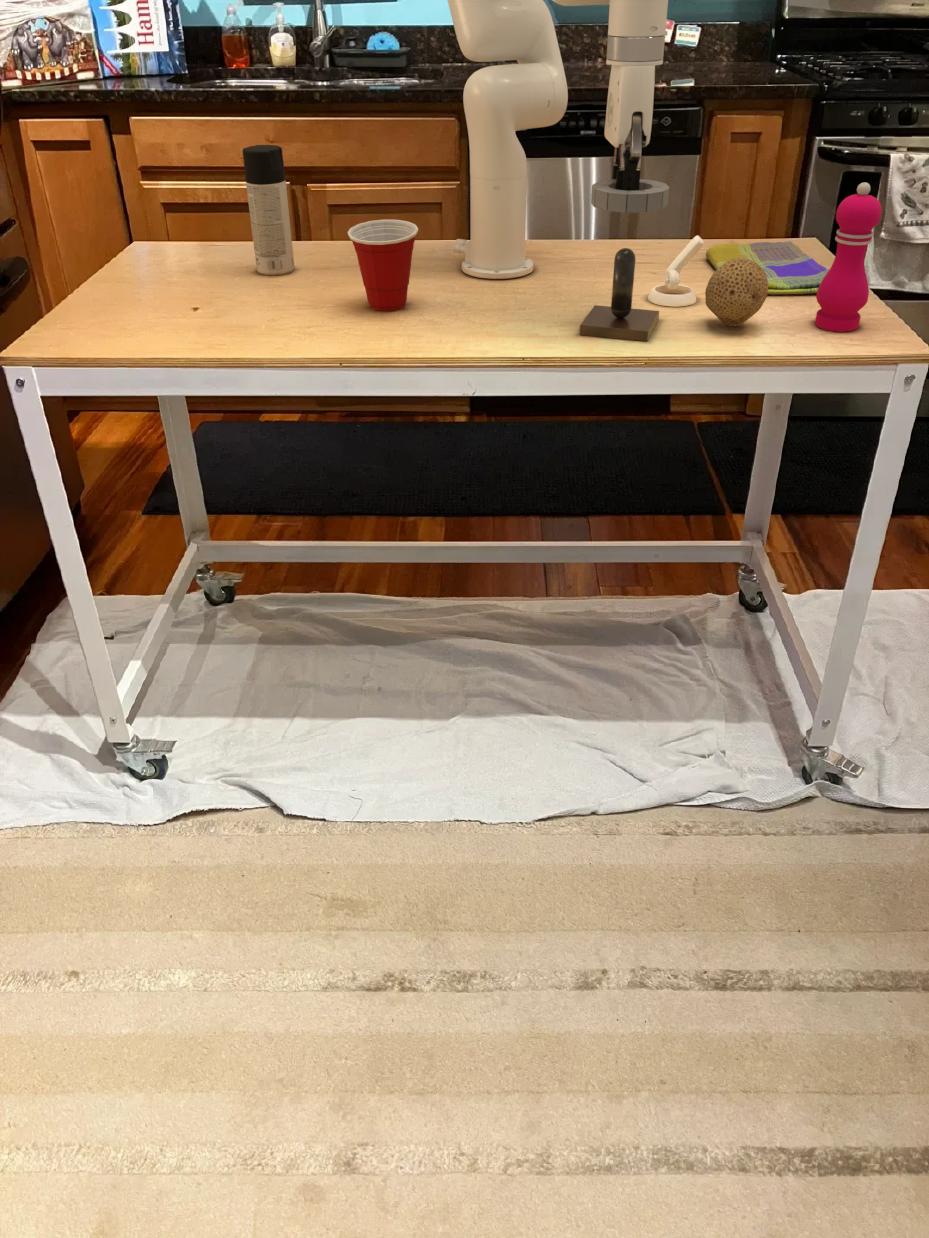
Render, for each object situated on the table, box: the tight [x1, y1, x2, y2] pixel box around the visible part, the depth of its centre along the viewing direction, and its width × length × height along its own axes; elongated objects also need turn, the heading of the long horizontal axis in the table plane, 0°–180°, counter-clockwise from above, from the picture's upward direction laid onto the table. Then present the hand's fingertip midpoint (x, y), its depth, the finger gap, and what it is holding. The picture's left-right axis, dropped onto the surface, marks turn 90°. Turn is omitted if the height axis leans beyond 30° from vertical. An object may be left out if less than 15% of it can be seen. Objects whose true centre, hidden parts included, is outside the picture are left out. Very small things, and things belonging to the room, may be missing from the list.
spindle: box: [579, 247, 660, 342], centre depth 148 cm, size 10×10×12 cm
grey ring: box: [590, 178, 671, 214], centre depth 141 cm, size 10×10×2 cm
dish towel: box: [705, 240, 830, 295], centre depth 173 cm, size 18×24×3 cm
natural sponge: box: [704, 258, 768, 328], centre depth 148 cm, size 9×9×10 cm
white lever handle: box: [647, 234, 705, 308], centre depth 160 cm, size 8×12×7 cm
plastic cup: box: [347, 219, 419, 312], centre depth 158 cm, size 11×11×12 cm
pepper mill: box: [814, 182, 883, 333], centre depth 146 cm, size 7×7×20 cm
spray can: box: [242, 144, 295, 276], centre depth 173 cm, size 7×7×20 cm
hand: (624, 197), depth 145 cm, fingers closed on grey ring, 2 cm apart
